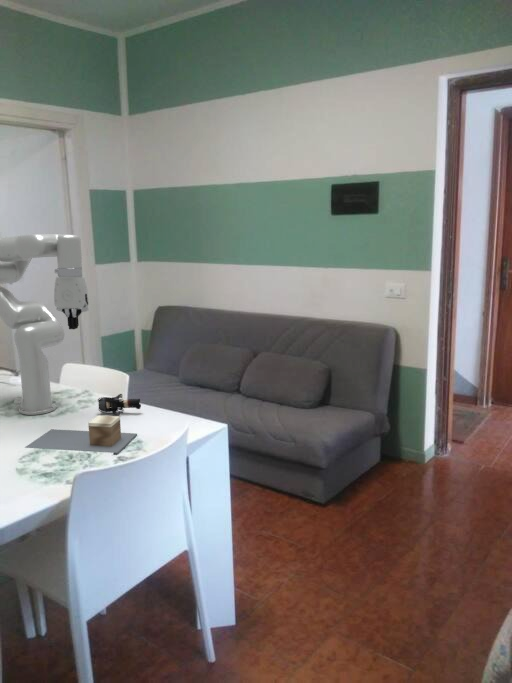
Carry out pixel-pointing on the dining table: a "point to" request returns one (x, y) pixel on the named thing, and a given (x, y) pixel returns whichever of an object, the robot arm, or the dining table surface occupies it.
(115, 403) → the toy
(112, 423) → the walnut cube
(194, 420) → the dining table surface
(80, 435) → the slate mat
